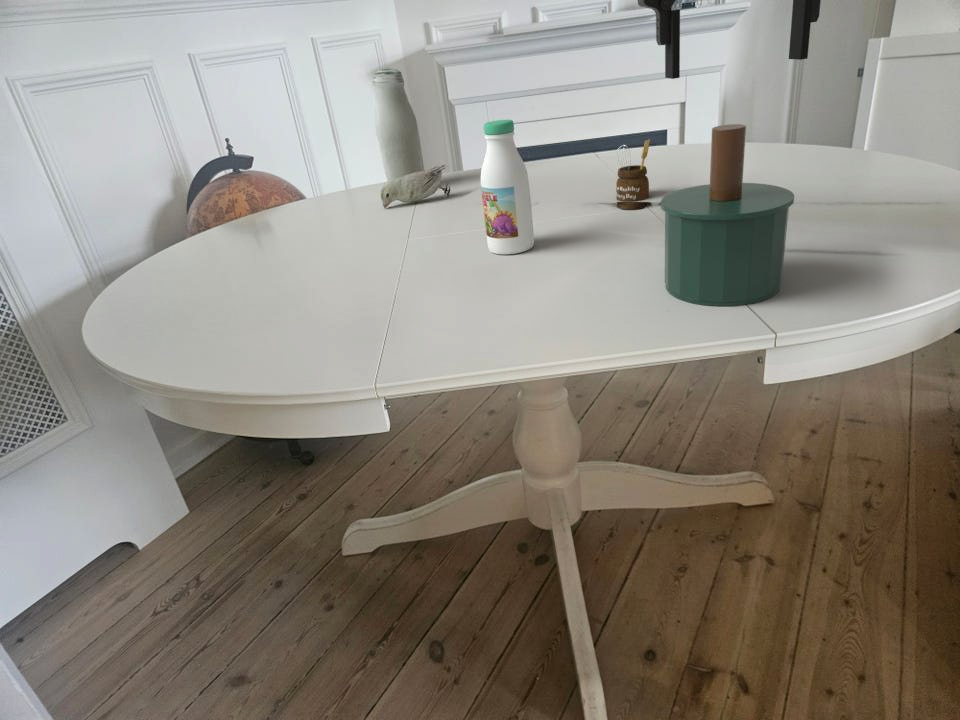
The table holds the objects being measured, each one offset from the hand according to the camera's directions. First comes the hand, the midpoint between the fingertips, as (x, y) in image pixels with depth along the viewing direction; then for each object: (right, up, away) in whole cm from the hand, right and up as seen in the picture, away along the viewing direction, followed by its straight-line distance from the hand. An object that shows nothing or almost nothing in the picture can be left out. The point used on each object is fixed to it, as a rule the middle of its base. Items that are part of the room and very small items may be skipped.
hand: (734, 68), depth 68 cm
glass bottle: (-46, +11, +91) cm, 102 cm away
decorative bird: (-42, +4, +76) cm, 87 cm away
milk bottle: (-22, -13, +36) cm, 45 cm away
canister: (+3, -22, +11) cm, 25 cm away
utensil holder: (+1, -3, +50) cm, 50 cm away
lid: (+2, -13, +7) cm, 15 cm away
